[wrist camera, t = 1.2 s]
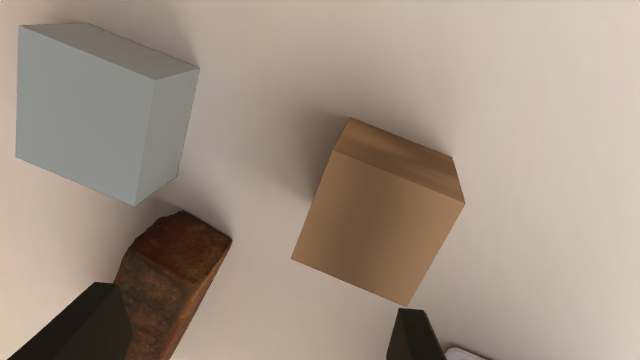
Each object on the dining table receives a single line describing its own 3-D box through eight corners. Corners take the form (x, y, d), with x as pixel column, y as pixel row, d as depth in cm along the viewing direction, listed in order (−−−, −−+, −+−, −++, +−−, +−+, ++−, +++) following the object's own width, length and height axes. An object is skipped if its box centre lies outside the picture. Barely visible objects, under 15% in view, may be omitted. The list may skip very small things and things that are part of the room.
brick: (175, 201, 23) (122, 244, 19) (237, 237, 23) (198, 289, 19) (123, 322, 28) (70, 379, 23) (175, 352, 28) (132, 415, 23)
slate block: (201, 67, 20) (155, 80, 16) (178, 174, 22) (134, 206, 19) (88, 22, 20) (18, 25, 17) (78, 133, 23) (15, 157, 19)
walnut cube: (452, 157, 19) (465, 203, 15) (407, 243, 21) (406, 307, 17) (350, 116, 19) (332, 149, 15) (316, 205, 21) (290, 258, 17)
